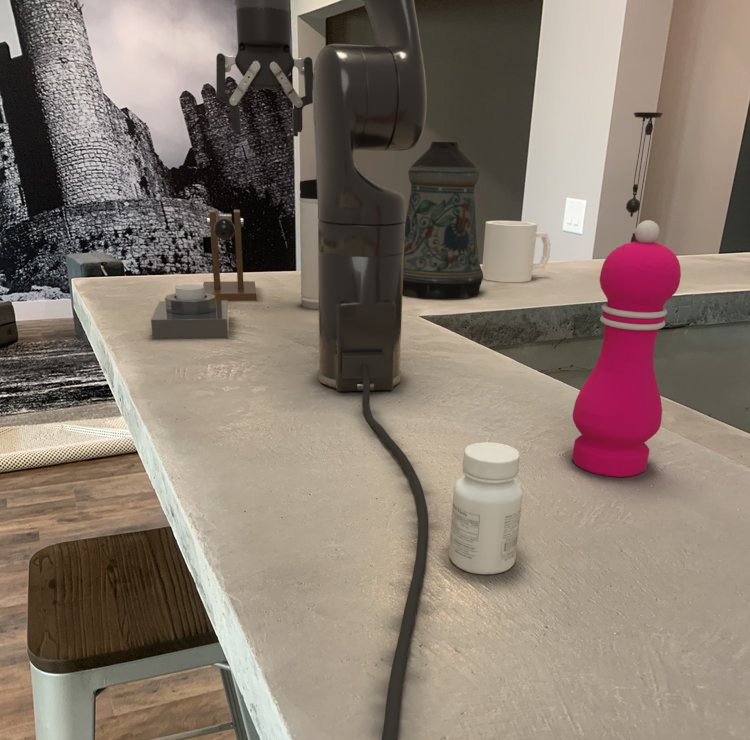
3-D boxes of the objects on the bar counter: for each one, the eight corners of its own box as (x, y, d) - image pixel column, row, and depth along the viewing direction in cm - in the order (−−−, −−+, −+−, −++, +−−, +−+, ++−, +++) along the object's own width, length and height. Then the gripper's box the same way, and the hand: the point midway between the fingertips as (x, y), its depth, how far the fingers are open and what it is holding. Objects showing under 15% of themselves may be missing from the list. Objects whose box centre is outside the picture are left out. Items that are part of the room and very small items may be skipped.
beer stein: (431, 303, 130) (439, 141, 120) (365, 285, 145) (367, 140, 134) (500, 294, 139) (514, 143, 129) (432, 279, 154) (439, 141, 143)
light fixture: (600, 267, 173) (622, 112, 160) (634, 267, 175) (659, 113, 161) (620, 274, 164) (646, 111, 151) (656, 274, 166) (685, 112, 153)
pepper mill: (588, 442, 71) (622, 214, 63) (664, 462, 67) (713, 221, 59) (551, 464, 66) (584, 219, 58) (632, 487, 62) (679, 227, 53)
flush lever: (235, 241, 118) (234, 219, 117) (214, 241, 118) (213, 219, 116) (235, 231, 131) (234, 211, 129) (216, 231, 130) (215, 211, 129)
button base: (228, 338, 105) (226, 305, 103) (153, 339, 103) (149, 306, 101) (228, 318, 116) (227, 288, 114) (161, 319, 115) (158, 288, 113)
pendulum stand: (256, 301, 129) (252, 214, 123) (201, 301, 127) (195, 213, 122) (255, 288, 140) (251, 208, 134) (204, 288, 138) (198, 207, 132)
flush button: (204, 302, 106) (203, 289, 106) (175, 302, 106) (174, 289, 105) (205, 296, 110) (204, 284, 109) (177, 296, 109) (176, 284, 109)
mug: (534, 273, 163) (539, 220, 158) (555, 281, 154) (561, 225, 150) (474, 274, 160) (478, 220, 156) (492, 282, 151) (497, 225, 147)
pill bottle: (507, 544, 53) (519, 439, 49) (521, 576, 49) (534, 465, 46) (444, 543, 53) (452, 438, 49) (452, 576, 49) (461, 464, 45)
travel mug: (336, 311, 123) (336, 176, 114) (296, 308, 124) (293, 174, 115) (345, 304, 128) (346, 174, 120) (307, 301, 129) (305, 173, 121)
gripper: (210, 1, 104) (218, 134, 111) (315, 7, 106) (316, 136, 113) (212, 10, 110) (220, 134, 117) (311, 14, 112) (312, 136, 119)
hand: (267, 135), depth 115 cm, fingers open, 8 cm apart
